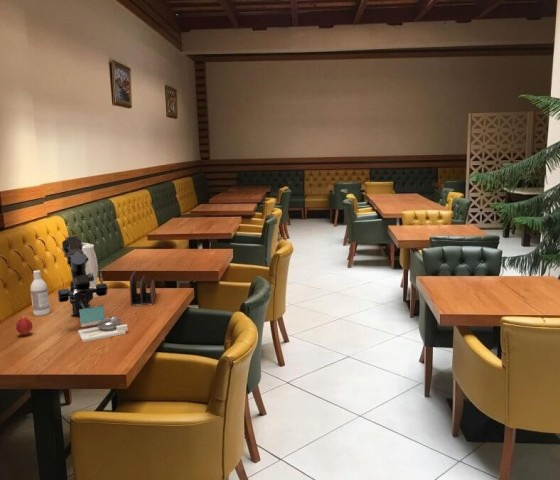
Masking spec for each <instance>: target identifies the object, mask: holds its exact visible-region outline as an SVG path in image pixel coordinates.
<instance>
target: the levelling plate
mask: <svg viewBox="0 0 560 480" xmlns="http://www.w3.org/2000/svg"><path fill="white" fill-rule="evenodd" d="M128 330H129V329H128V324H121V325H120V326H116V328H114V329H109V330H101V329H98V326H93V327H89V328H83V329H79V330H77V331H78V335H79V336H80V338H81V340H82V342H83V343H85V342H91V341H96V340H99V339H100V340H101V339H105V338H110V337H115V336H120V335H125V334H126V333H127V332H126V331H128Z"/></svg>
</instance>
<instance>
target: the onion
mask: <svg viewBox="0 0 560 480" xmlns="http://www.w3.org/2000/svg"><path fill="white" fill-rule="evenodd" d="M15 327H16V331H17V332H18V333H19V334H20V335H23V336H27V335H28V334H29V333H30V332H31V331H32V330H33V322H32V321H31V320H30V319H29V318H27V317H26V316H25V315H23V316H22V317H21V318H20V319H19V320H18V321H17V323H16V325H15Z"/></svg>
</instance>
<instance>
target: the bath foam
mask: <svg viewBox="0 0 560 480" xmlns="http://www.w3.org/2000/svg"><path fill="white" fill-rule="evenodd" d="M30 297H31V304H32V313H33V315H34V316H36V317H38V316H45V315H46V316H47V315H49V314H50V312H51V309H50V308H51V306H50V298H49V290H48V285H47V283H46V281H44V279H43V278H42V273H41V270H39V269H38V270H33V281H32V282H31V283H30Z"/></svg>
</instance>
